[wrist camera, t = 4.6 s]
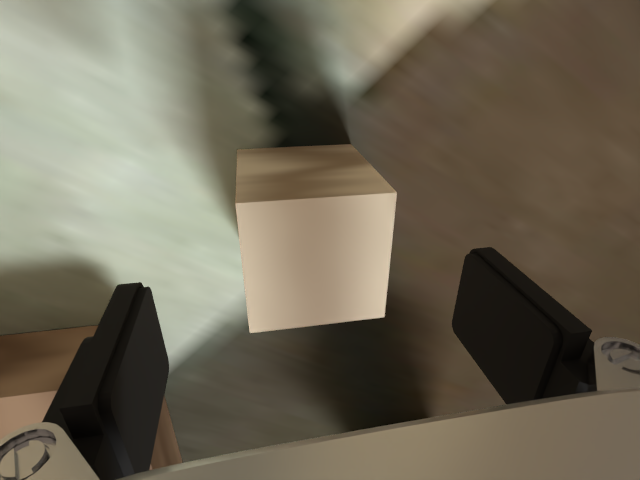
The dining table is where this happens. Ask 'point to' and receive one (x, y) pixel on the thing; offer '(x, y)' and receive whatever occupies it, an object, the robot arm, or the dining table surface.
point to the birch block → (312, 235)
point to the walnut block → (55, 384)
